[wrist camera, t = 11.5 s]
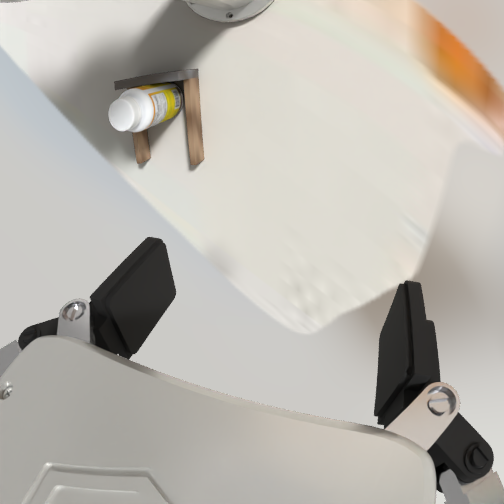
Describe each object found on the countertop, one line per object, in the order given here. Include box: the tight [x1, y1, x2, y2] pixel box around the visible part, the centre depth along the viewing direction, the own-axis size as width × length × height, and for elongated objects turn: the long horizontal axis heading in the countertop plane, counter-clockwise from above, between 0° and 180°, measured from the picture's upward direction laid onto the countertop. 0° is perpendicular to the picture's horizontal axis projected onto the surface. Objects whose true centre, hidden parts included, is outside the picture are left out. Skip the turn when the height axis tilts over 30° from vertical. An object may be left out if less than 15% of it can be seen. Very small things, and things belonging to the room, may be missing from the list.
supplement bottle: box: [108, 82, 183, 132], centre depth 33 cm, size 6×6×10 cm
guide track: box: [114, 69, 204, 165], centre depth 37 cm, size 13×10×5 cm
